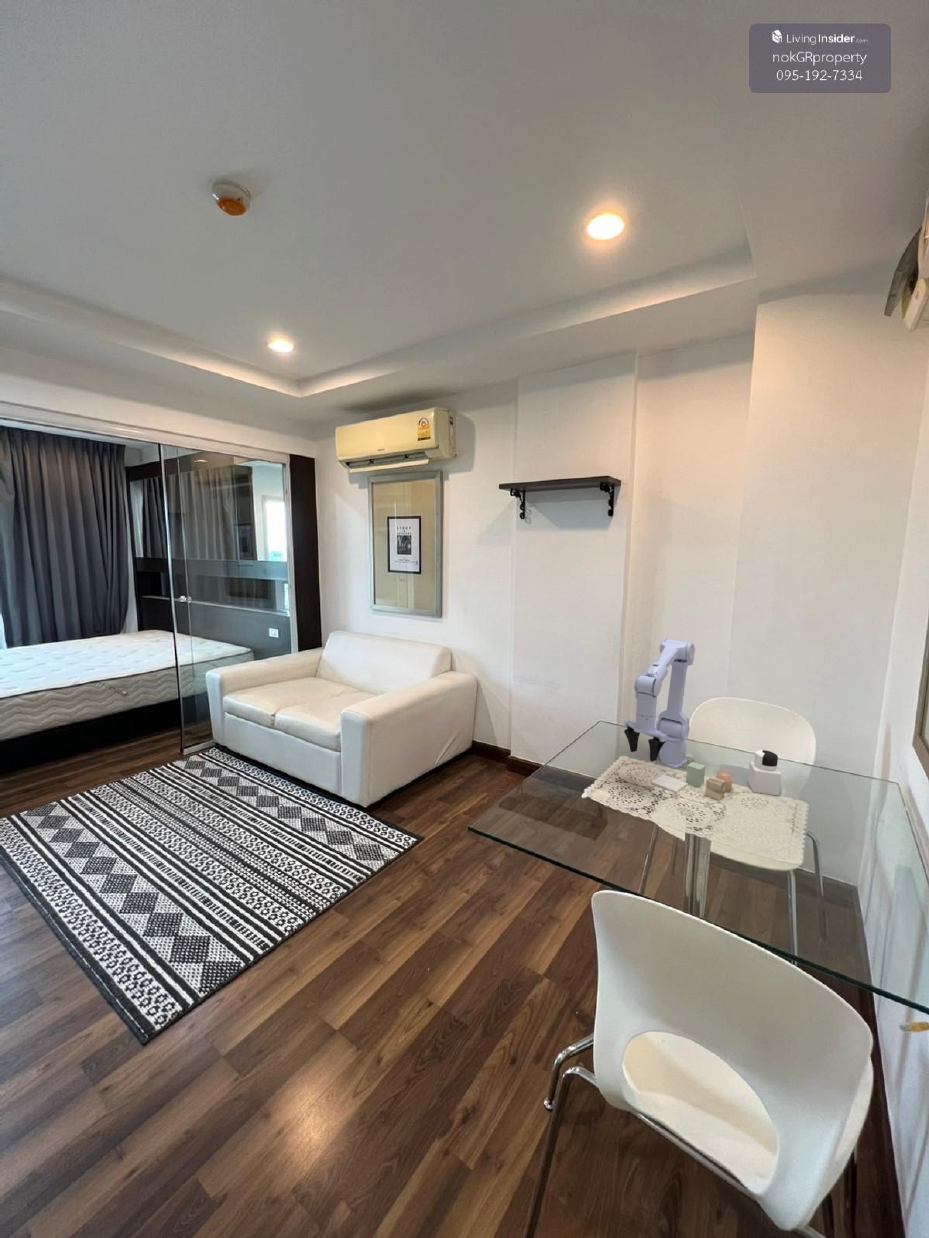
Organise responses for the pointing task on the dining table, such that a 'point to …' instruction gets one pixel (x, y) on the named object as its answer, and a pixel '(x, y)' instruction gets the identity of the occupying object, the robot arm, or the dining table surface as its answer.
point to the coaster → (669, 783)
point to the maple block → (715, 788)
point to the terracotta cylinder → (725, 779)
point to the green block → (695, 774)
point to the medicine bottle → (764, 773)
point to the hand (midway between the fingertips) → (643, 755)
